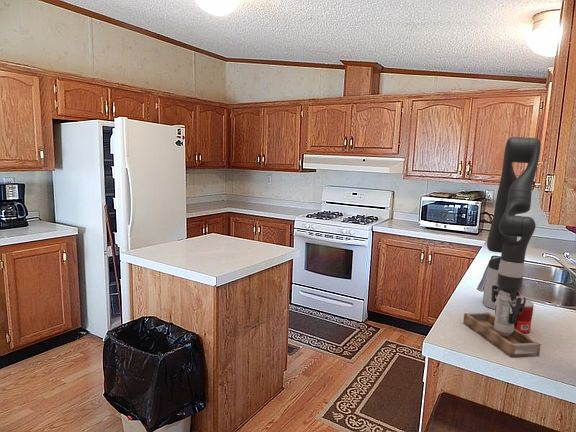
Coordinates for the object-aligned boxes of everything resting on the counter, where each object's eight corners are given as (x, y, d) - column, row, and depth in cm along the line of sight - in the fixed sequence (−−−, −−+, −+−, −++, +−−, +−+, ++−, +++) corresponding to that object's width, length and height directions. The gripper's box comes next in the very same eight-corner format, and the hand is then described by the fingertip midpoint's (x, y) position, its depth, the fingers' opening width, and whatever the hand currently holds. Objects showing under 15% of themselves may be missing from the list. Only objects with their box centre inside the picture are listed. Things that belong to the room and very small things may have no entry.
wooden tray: (463, 323, 154) (464, 313, 153) (487, 322, 156) (488, 312, 155) (510, 357, 129) (512, 345, 128) (539, 355, 131) (540, 344, 130)
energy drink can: (513, 331, 141) (519, 290, 138) (512, 337, 136) (517, 295, 133) (494, 326, 144) (499, 286, 141) (492, 332, 139) (497, 291, 137)
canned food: (532, 329, 150) (536, 302, 149) (526, 336, 145) (530, 307, 143) (510, 323, 156) (514, 296, 154) (503, 328, 150) (507, 301, 149)
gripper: (536, 279, 130) (529, 328, 133) (505, 267, 144) (500, 311, 147) (516, 280, 129) (509, 329, 131) (487, 267, 143) (481, 311, 145)
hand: (504, 319), depth 139 cm, fingers closed on energy drink can, 6 cm apart
